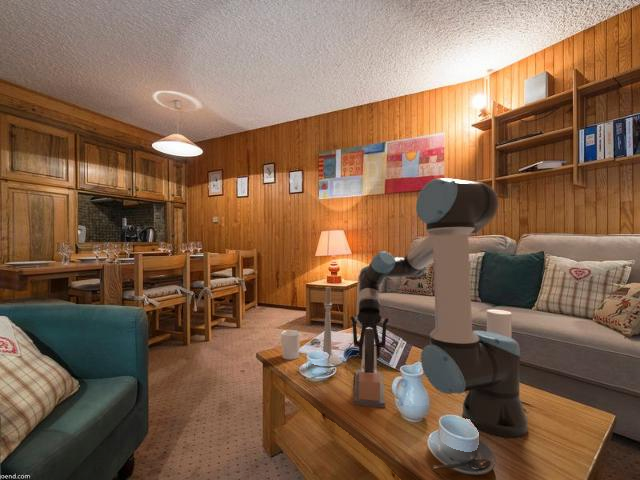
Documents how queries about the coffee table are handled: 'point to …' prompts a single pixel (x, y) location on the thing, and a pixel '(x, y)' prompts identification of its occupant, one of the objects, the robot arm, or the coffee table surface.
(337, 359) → the candlestick
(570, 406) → the coffee table surface
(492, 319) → the cylindrical container
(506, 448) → the coffee table surface
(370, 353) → the tube
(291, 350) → the white cup
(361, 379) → the tube stand
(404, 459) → the coffee table surface
